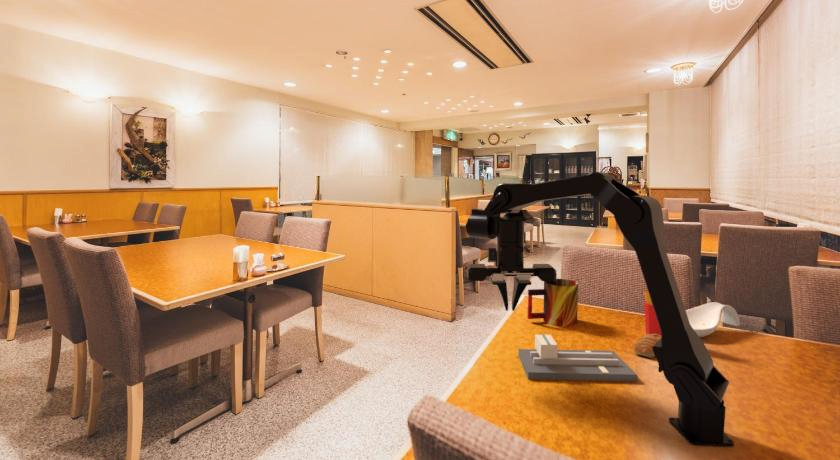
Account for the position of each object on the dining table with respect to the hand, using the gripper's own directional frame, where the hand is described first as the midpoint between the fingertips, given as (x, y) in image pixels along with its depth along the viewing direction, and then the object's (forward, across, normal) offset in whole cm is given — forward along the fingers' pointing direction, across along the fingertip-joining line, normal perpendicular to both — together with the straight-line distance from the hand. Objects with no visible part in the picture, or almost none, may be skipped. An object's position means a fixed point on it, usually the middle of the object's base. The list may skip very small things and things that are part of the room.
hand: (509, 310), depth 87 cm
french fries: (+13, -41, -16) cm, 46 cm away
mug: (+13, -18, -30) cm, 37 cm away
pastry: (+14, -36, -10) cm, 39 cm away
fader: (+11, -8, 0) cm, 14 cm away
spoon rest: (+14, -57, -25) cm, 64 cm away
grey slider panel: (+13, -14, 0) cm, 19 cm away
